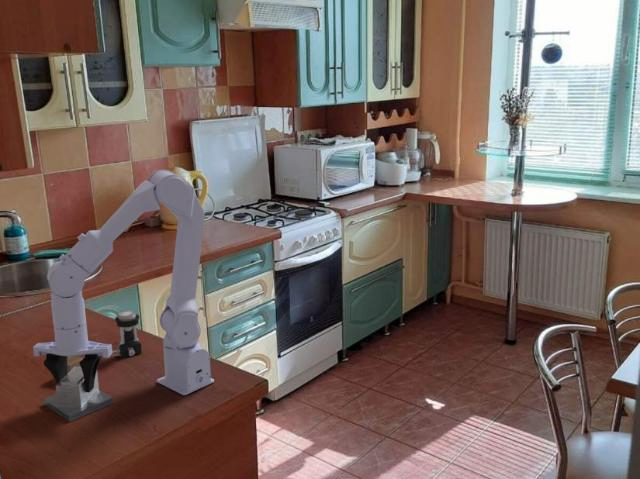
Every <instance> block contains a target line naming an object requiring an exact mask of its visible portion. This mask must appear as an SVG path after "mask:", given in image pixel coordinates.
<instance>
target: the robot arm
mask: <svg viewBox="0 0 640 479" xmlns="http://www.w3.org/2000/svg"><path fill="white" fill-rule="evenodd" d="M159 204H161V205H163V206H165V207H166V208H167V209H168V210H169V211H170V212H171V213H172V214H173V215H174V216H175V217H176V218H177V229H176V239H175V247H174V257H173V264H172V275H171V283H170V294H169V295H168V297H167V298H166V300H165V301H166V302H165V307H164V309H163V311H162V312H161V314H160V316H159V323H160V327H161V329H162V330H163V331H165V335H164V337H163V340H162V348H163V350H162V351H163V362H164V364H163V365H164V376H163V377H160V378H157V379H156V382H157V383H158V384H161V385H162V386H164V387H166V388H167V389H169V390H173V391H174V392H176V393H178V394H180V395H182V396H186V395H189V394H191V393H193V392H195V391H198V390H199V389H202V388H204V387H207V386H209V385H211V384H213V383H214V382H215V379H214V378H213V377H212V374H211V372H212V371H211V358H210V357H211V356H210V354H209V352H208V351H207V350H206V349H205V348H204V347H202V345H201V344H200V340H199V338H200V336H201V332H202V331H201V325H200V323H199V309H198V306H197V301H196V299H197V297H196V295H197V289H198V288H197V287H198V286H197V285H198V280H199V269H200V262H201V254H202V253H201V252H202V244H203V236H204V228H205V220H206V219H205V218H206V216H205V214H206V213H205V210H204V208H203V206H202V204H201V203H200V200H199V198H198V196H197V194H196V191H195V187H194V186H193V185H192V184H191V183H190V182H189V181H187V180H186V179H185V178H184V177H182V176H181V175H179V174H175V173H174V172H172V171H170V170H168V169H158V170H156V171H154V172H152V173H151V174H150V175H149V177H148V179H145V180H143V181H142V182H140V184H139V185H138V186H137V187H136V189H134V191H132V193H131V194H130V195H129V196H128V197H127V198H126V200H124V201H123V203H122V204H121V205H120V206H119V207H118V208H117V210H116V211H115V212H114V213H113V214H112V215H111V216H110V217H109V219H108V220H107V221H106V222H105V223H104V224H103V225H102V226H101V227H100V228H99V229H96V230H92V229H91V230H88V231H87V232H86V234H84V233H80V234H79V235H78V236H77V239H78V241H77V242H76V243H75V245H73V246H72V247H71V248H70V250H68V252H66V253H65V254H63V253H62V254H61V255H60V256H59V257H58V258H59V261H55V262H53V264H51V266H50V267H49V268H48V270H47V274H46V279H47V282H48V284H49V288H50V291H51V292H50V300H51V303H50V307H51V314H52V323H53V331H54V341H50V342H38V343H36V344H35V345H34V346H33V347H32V349H33V356H34V357H40V356H46V357H45V359H44V361H43V366H44V367H45V368H46V369H47V370H48V371H49V372H50V373H51V375H52V377H53V378H54V380H55V382H56V385H57V384H58V383H59V382H60V381H61V380H62V379H63V378H64V377H65V376H66V375H67V357H68V356H77V357H82V356H83V357H82V358H83V359H82V360H81V361H80V366H81V369H82V372H83V375H84V382H85V390H86V392H91V390H92V389H93V388H94V381H95V376H96V372H97V373H98V367H99V365H100V362H101V360H102V358H106V359H109V358H110V357H111V356H112V355H113V353H112V351H113V345H112V344H111V343H110V344H109V343H101V342H96V341H91V340H89V338H88V325H87V318H86V316H87V315H86V307H85V299H84V297H83V292H82V291H83V288H84V287H85V279H86V278H87V277H89V276H91V274H93V272H94V271H96V269H97V268H98V267H99V266H100V265H101V264H102V263H103V262H104V261H105V260H106V259H107V258H108V257H109V255H111V254H112V253H113V251H114V246H113V244H114V241H115V240H116V239H117V238H118V237H119V236H120V235H121V234H123V233H124V232H125V231H126V230H127V229H128V228H129V227H130V226H132V224H133V223H134V222H135V221H136V220H137V219H138V218H139V217H140V216H141V215H143V214H144V213H147V212H148V213H149V212H155V211H159V210H161V207H160V205H159Z"/></svg>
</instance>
